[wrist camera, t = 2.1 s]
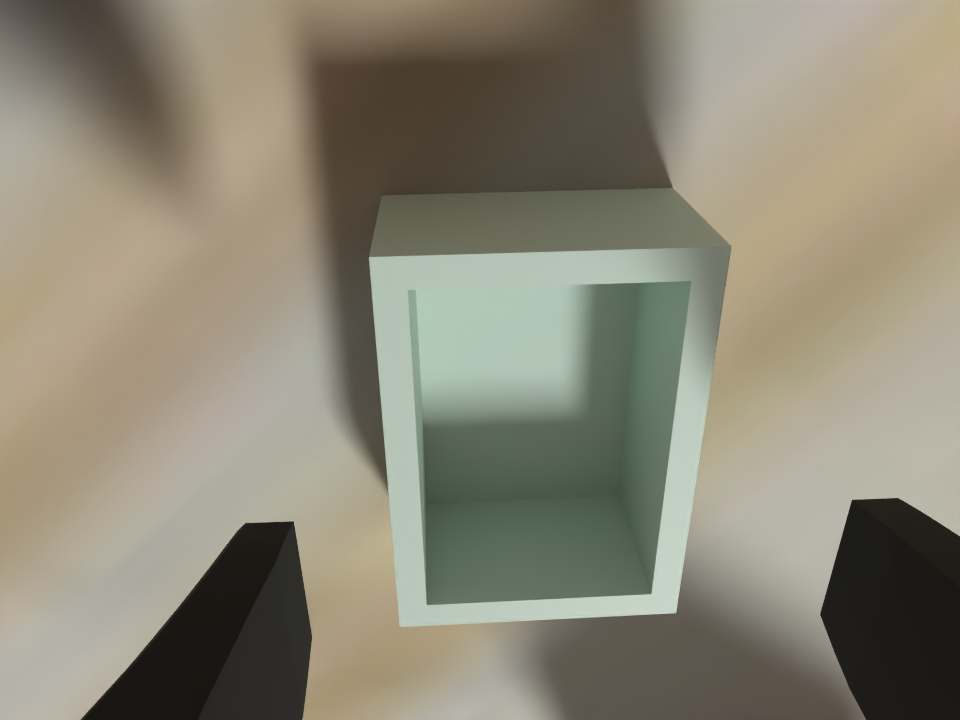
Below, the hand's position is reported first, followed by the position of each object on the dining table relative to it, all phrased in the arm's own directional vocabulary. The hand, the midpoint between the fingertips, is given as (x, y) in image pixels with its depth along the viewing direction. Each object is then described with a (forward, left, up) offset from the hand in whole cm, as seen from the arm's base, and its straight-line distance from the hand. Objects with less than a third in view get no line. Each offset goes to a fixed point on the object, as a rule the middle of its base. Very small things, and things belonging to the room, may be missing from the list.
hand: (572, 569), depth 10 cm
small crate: (0, 0, -6) cm, 6 cm away
